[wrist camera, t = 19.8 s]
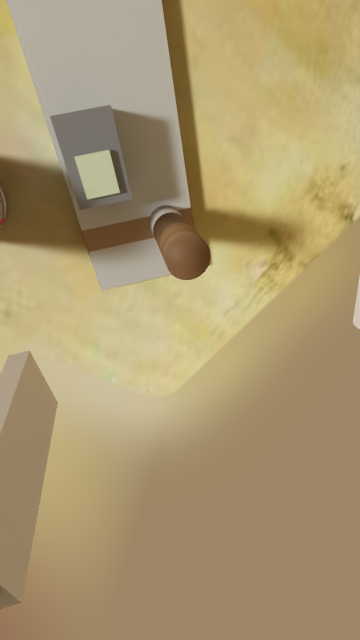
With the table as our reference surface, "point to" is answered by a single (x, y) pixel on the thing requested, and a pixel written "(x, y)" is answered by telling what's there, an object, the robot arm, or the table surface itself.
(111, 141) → the block
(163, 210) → the brown rounded cylinder
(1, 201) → the soda can
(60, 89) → the board
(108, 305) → the table surface
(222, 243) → the table surface
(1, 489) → the robot arm
